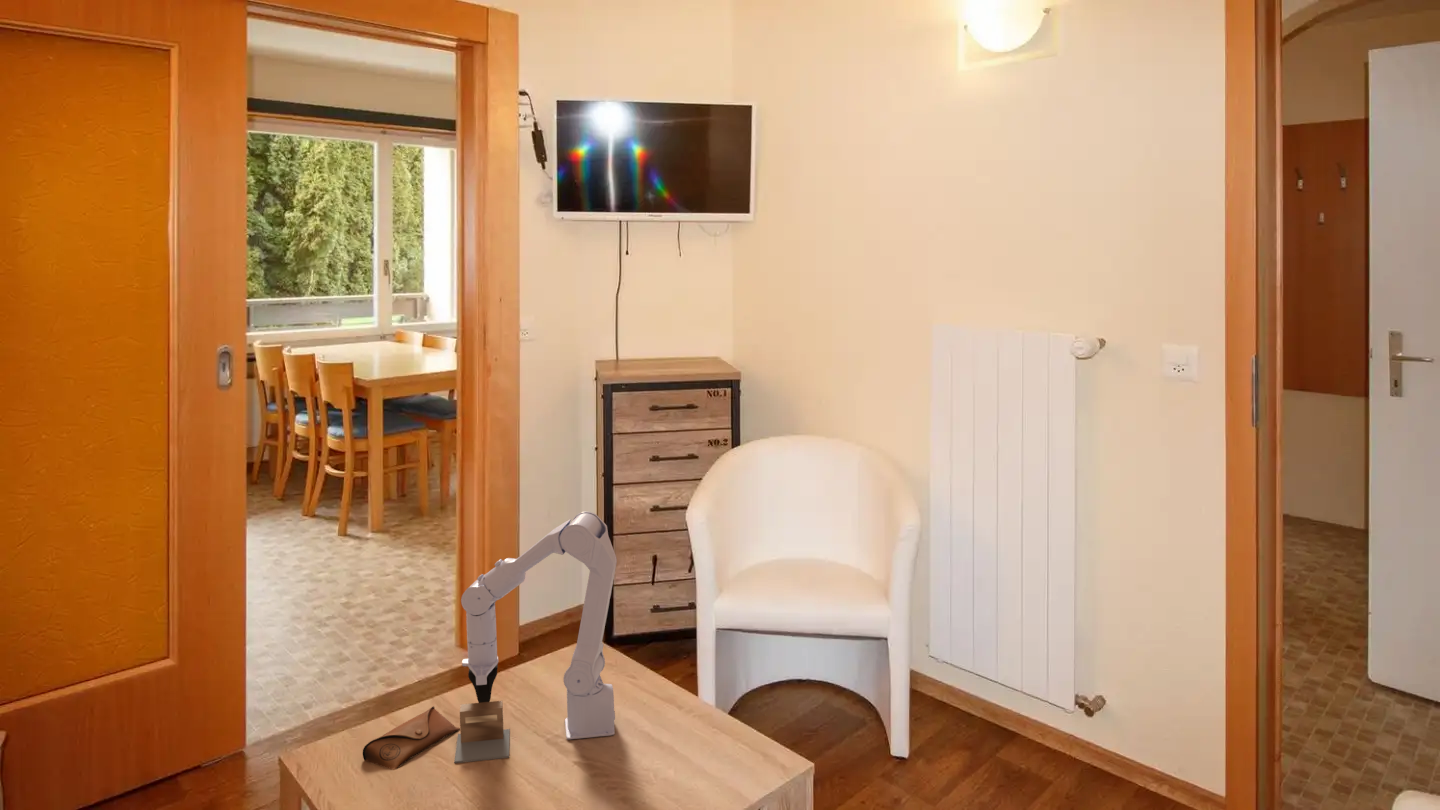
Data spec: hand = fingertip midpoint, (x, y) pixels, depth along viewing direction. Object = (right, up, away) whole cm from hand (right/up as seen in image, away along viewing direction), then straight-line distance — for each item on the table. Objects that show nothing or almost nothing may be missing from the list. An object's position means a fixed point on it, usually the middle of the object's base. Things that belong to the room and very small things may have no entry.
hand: (484, 702), depth 186 cm
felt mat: (+2, -6, -8) cm, 10 cm away
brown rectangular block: (+1, -5, -6) cm, 8 cm away
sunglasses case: (-12, -6, -7) cm, 15 cm away
